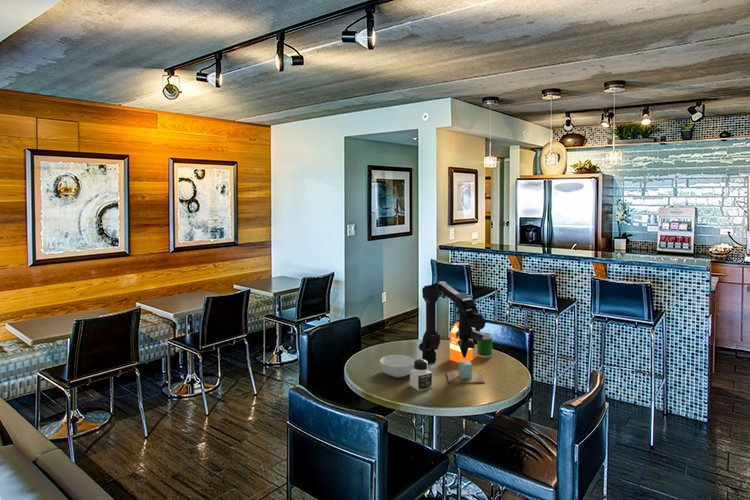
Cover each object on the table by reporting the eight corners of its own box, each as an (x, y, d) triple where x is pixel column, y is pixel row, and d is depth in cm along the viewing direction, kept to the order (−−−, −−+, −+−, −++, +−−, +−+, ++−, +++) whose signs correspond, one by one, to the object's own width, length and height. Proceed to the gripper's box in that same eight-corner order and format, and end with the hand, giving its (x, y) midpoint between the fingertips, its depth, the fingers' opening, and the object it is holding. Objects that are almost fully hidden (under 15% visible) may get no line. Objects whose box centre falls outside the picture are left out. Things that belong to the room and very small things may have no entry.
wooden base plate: (449, 383, 224) (449, 368, 224) (446, 373, 236) (446, 359, 236) (484, 383, 224) (485, 368, 223) (480, 374, 236) (480, 359, 235)
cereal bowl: (374, 378, 231) (374, 363, 230) (386, 367, 247) (386, 353, 246) (410, 383, 225) (410, 368, 225) (419, 371, 241) (419, 356, 240)
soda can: (492, 359, 257) (492, 336, 256) (477, 358, 259) (477, 335, 257) (491, 354, 264) (492, 332, 263) (477, 353, 266) (477, 332, 265)
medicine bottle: (418, 391, 216) (418, 364, 215) (409, 385, 222) (409, 359, 221) (432, 388, 219) (432, 361, 218) (423, 382, 226) (423, 357, 224)
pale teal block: (460, 378, 228) (460, 364, 227) (458, 374, 233) (458, 360, 232) (471, 378, 227) (471, 364, 227) (469, 374, 233) (470, 360, 232)
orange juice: (472, 360, 256) (473, 322, 254) (460, 363, 251) (460, 324, 249) (461, 356, 263) (462, 319, 260) (449, 359, 258) (449, 321, 256)
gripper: (486, 330, 220) (485, 364, 222) (479, 319, 238) (478, 351, 240) (461, 330, 220) (460, 364, 222) (455, 319, 239) (455, 351, 241)
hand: (464, 357), depth 231 cm, fingers closed
